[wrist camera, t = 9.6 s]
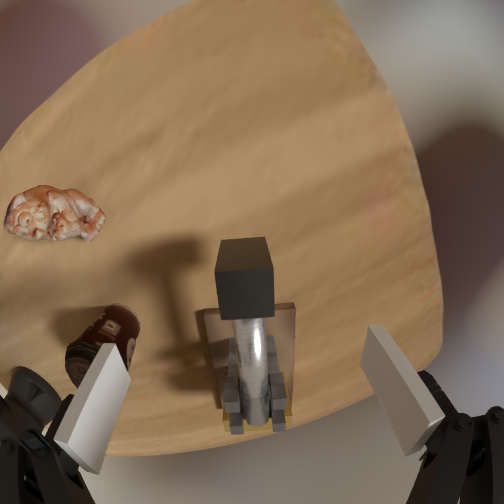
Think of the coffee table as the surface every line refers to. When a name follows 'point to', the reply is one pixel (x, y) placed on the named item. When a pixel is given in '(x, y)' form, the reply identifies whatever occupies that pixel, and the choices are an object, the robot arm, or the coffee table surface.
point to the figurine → (53, 215)
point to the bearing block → (278, 358)
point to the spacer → (269, 424)
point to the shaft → (248, 316)
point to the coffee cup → (103, 340)
